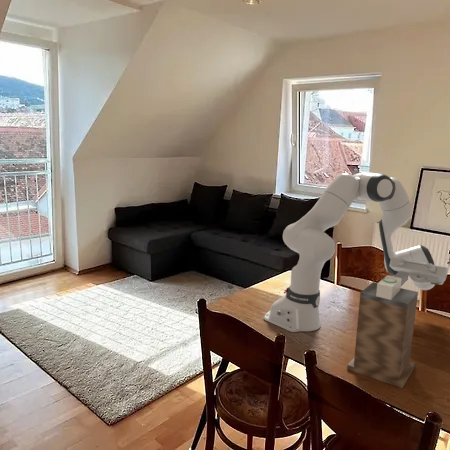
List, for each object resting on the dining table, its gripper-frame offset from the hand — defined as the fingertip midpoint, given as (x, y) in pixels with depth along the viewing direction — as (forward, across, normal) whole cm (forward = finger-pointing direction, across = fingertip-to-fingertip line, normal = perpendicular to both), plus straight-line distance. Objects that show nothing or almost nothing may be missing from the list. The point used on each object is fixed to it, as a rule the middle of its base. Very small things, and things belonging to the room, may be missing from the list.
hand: (415, 263), depth 158 cm
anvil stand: (+14, 0, +40) cm, 42 cm away
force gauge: (+23, 0, +15) cm, 28 cm away
